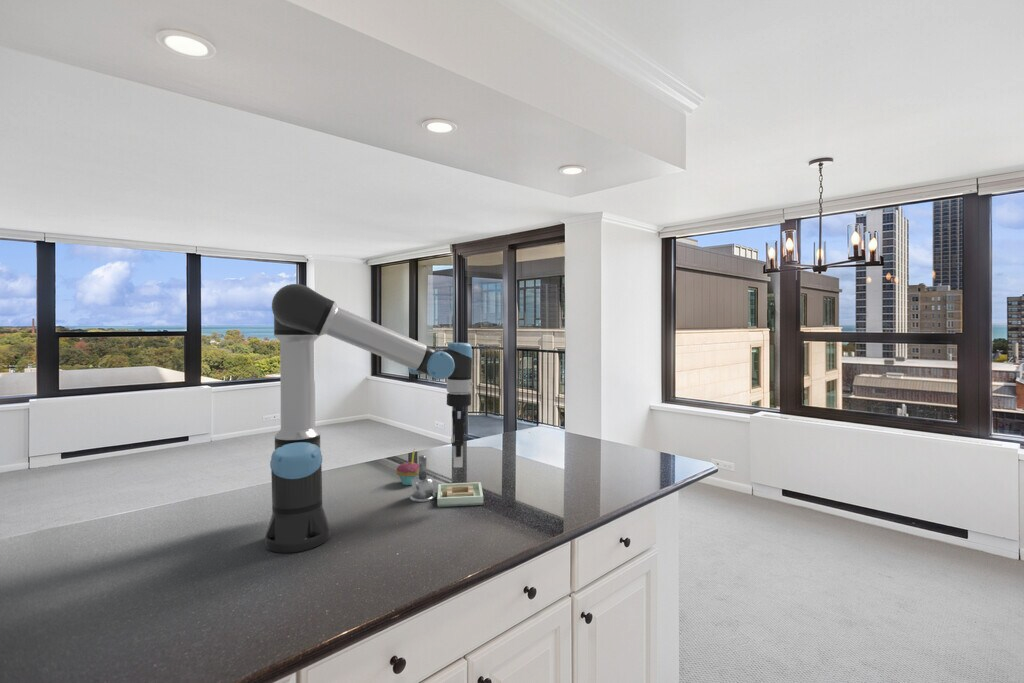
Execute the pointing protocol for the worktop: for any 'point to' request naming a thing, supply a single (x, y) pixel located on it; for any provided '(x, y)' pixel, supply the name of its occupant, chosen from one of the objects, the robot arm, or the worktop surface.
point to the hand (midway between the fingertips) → (457, 461)
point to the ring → (458, 491)
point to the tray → (460, 501)
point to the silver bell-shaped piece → (422, 484)
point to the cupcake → (408, 471)
